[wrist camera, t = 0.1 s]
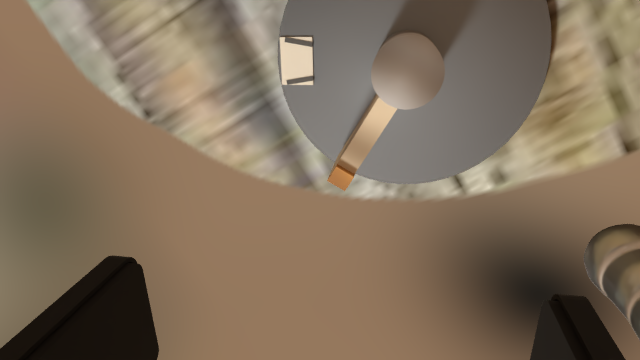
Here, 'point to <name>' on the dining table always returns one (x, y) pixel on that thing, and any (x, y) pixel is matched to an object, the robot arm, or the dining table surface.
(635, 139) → the dining table surface
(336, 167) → the tan knob handle
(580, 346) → the robot arm
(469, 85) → the dial base
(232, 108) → the dining table surface
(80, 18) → the dining table surface
